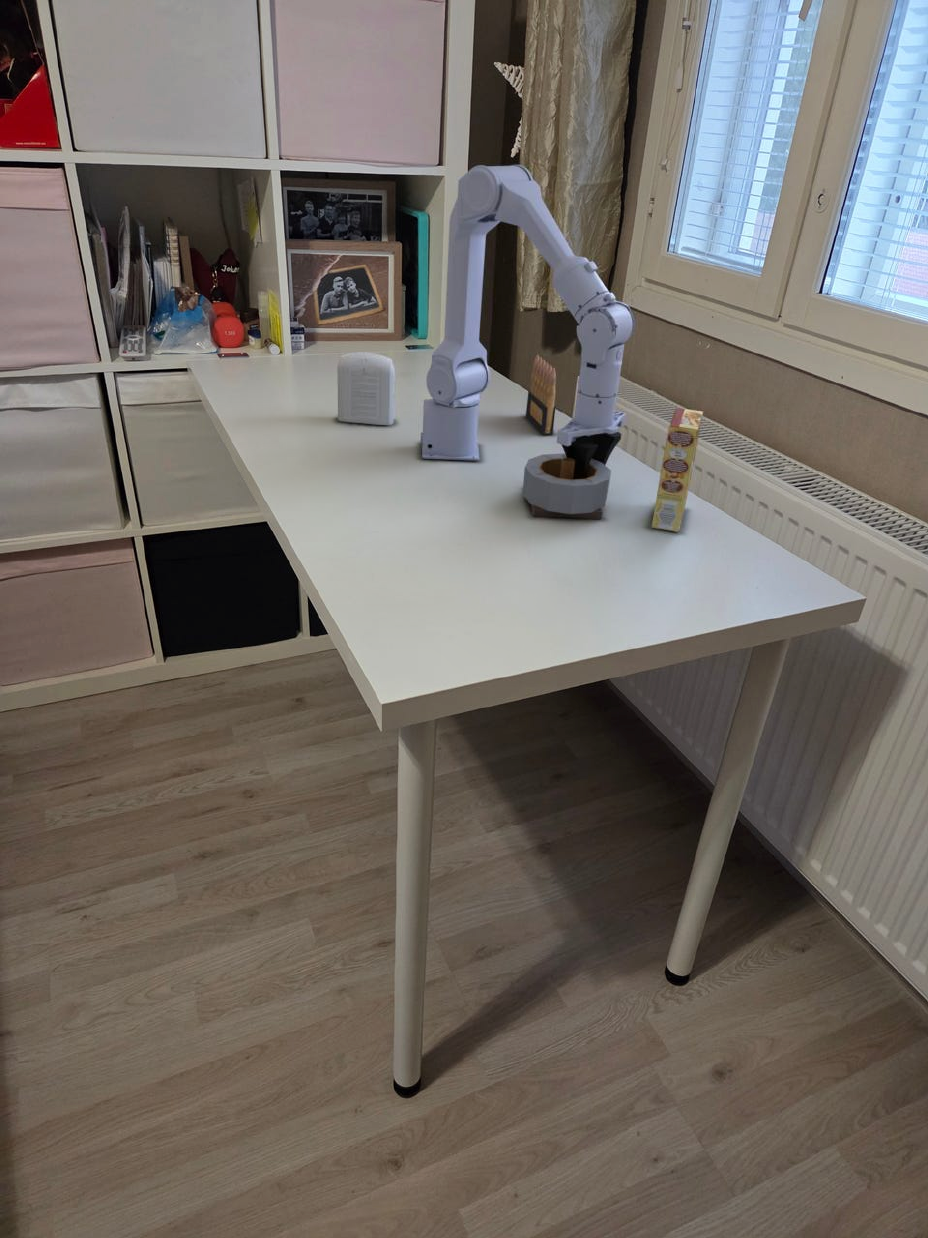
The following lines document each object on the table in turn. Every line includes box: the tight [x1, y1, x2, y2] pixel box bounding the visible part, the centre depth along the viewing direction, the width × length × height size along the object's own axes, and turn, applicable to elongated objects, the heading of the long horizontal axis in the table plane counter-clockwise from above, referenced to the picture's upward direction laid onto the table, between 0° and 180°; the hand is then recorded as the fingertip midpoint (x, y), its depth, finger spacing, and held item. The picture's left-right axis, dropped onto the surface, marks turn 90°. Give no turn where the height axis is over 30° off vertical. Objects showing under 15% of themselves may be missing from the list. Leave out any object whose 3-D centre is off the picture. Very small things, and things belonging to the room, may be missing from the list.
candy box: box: [651, 407, 704, 533], centre depth 121 cm, size 9×4×15 cm, turn 162°
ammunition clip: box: [525, 353, 557, 436], centre depth 155 cm, size 11×2×12 cm, turn 14°
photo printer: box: [336, 351, 396, 426], centre depth 152 cm, size 10×4×12 cm, turn 86°
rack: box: [530, 458, 603, 520], centre depth 126 cm, size 10×10×7 cm
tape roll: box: [521, 453, 612, 514], centre depth 126 cm, size 13×13×4 cm
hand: (585, 479), depth 130 cm, fingers open, 4 cm apart
